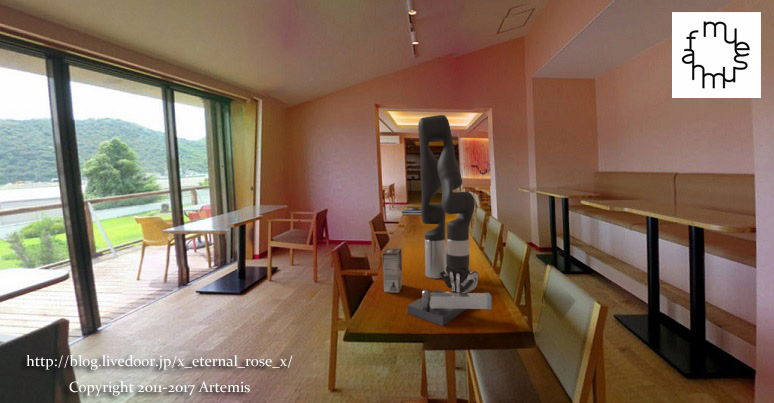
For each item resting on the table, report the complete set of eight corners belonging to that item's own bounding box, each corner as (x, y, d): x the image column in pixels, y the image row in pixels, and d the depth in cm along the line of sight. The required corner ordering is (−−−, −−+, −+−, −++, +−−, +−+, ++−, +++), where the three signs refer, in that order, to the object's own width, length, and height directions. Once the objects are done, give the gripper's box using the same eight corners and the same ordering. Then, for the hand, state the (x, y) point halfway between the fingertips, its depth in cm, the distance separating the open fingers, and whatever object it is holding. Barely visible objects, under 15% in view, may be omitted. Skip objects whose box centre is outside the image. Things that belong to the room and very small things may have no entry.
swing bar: (430, 308, 105) (430, 296, 104) (430, 304, 108) (430, 292, 108) (491, 309, 103) (491, 296, 103) (489, 305, 106) (489, 292, 106)
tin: (473, 286, 134) (473, 266, 133) (480, 288, 132) (480, 268, 131) (452, 297, 124) (452, 275, 123) (459, 299, 122) (459, 277, 121)
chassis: (436, 296, 124) (436, 273, 123) (469, 306, 115) (469, 281, 114) (407, 313, 111) (406, 287, 110) (442, 326, 102) (442, 297, 101)
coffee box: (388, 284, 139) (386, 247, 138) (402, 284, 138) (401, 248, 136) (383, 292, 131) (382, 253, 129) (399, 293, 129) (398, 254, 128)
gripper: (481, 252, 106) (480, 303, 108) (446, 246, 114) (446, 293, 117) (470, 258, 100) (469, 311, 102) (434, 250, 109) (434, 299, 111)
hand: (457, 301), depth 109 cm, fingers closed
